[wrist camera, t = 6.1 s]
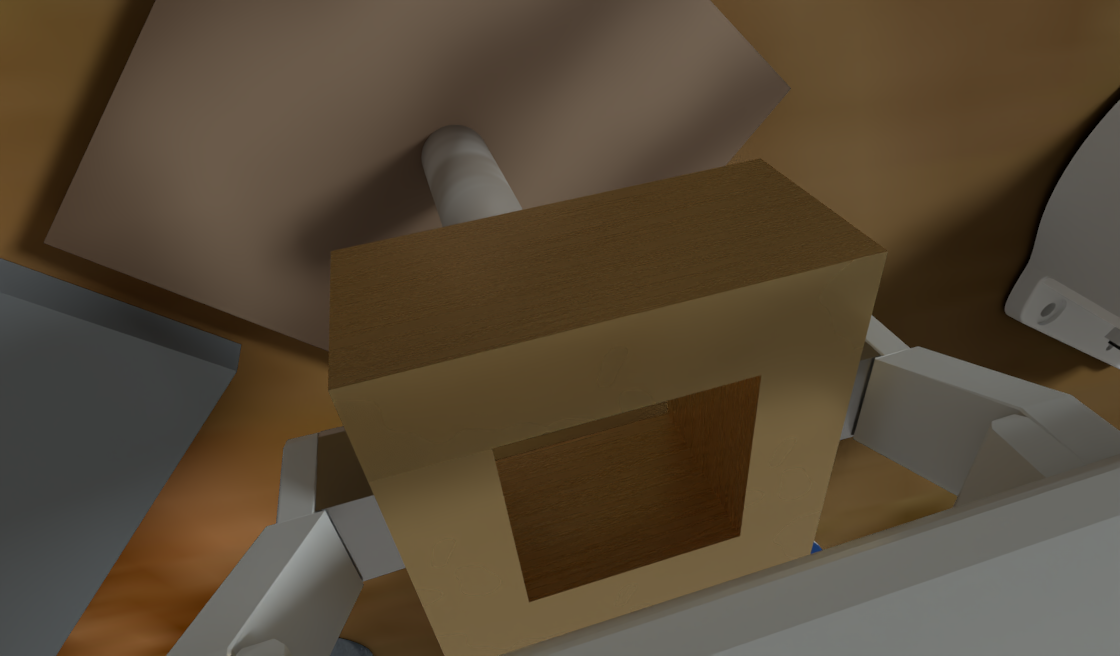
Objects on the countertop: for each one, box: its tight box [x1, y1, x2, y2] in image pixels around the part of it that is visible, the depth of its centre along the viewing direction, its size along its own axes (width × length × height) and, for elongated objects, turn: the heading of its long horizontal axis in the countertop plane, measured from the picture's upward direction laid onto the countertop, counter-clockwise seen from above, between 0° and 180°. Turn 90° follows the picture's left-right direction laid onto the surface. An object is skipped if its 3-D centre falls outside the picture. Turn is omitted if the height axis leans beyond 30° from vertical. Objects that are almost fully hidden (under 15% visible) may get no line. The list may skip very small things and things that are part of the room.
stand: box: [44, 0, 791, 351], centre depth 18 cm, size 16×16×6 cm
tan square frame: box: [328, 158, 888, 656], centre depth 10 cm, size 7×7×3 cm
